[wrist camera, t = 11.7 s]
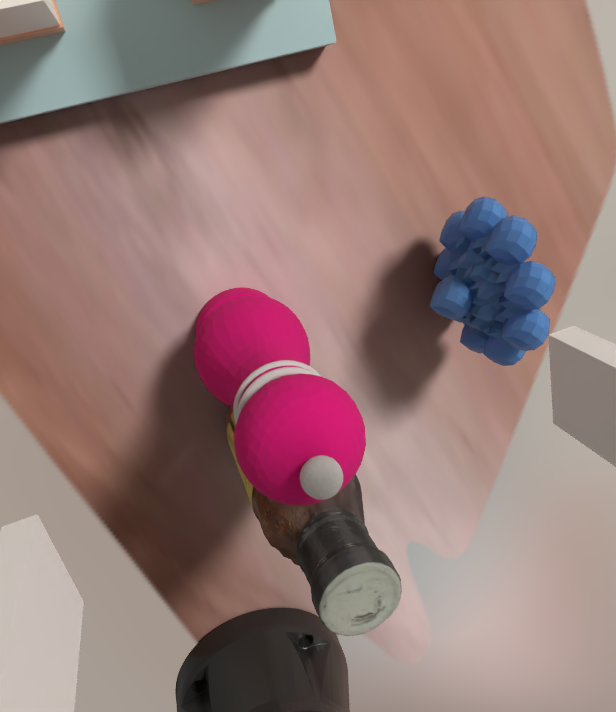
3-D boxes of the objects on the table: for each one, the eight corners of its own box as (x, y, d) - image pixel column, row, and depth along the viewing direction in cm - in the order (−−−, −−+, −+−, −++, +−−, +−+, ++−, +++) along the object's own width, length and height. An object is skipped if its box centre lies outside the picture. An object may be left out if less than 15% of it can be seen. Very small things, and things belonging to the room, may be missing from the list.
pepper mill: (238, 257, 39) (333, 369, 21) (310, 325, 42) (444, 472, 25) (165, 335, 40) (197, 508, 22) (241, 396, 43) (324, 591, 25)
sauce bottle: (285, 461, 46) (385, 673, 28) (210, 442, 44) (268, 662, 26) (318, 387, 44) (447, 563, 27) (242, 364, 42) (328, 539, 24)
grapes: (376, 205, 41) (465, 234, 30) (463, 177, 42) (580, 195, 31) (406, 353, 45) (492, 423, 35) (483, 324, 47) (590, 384, 36)
